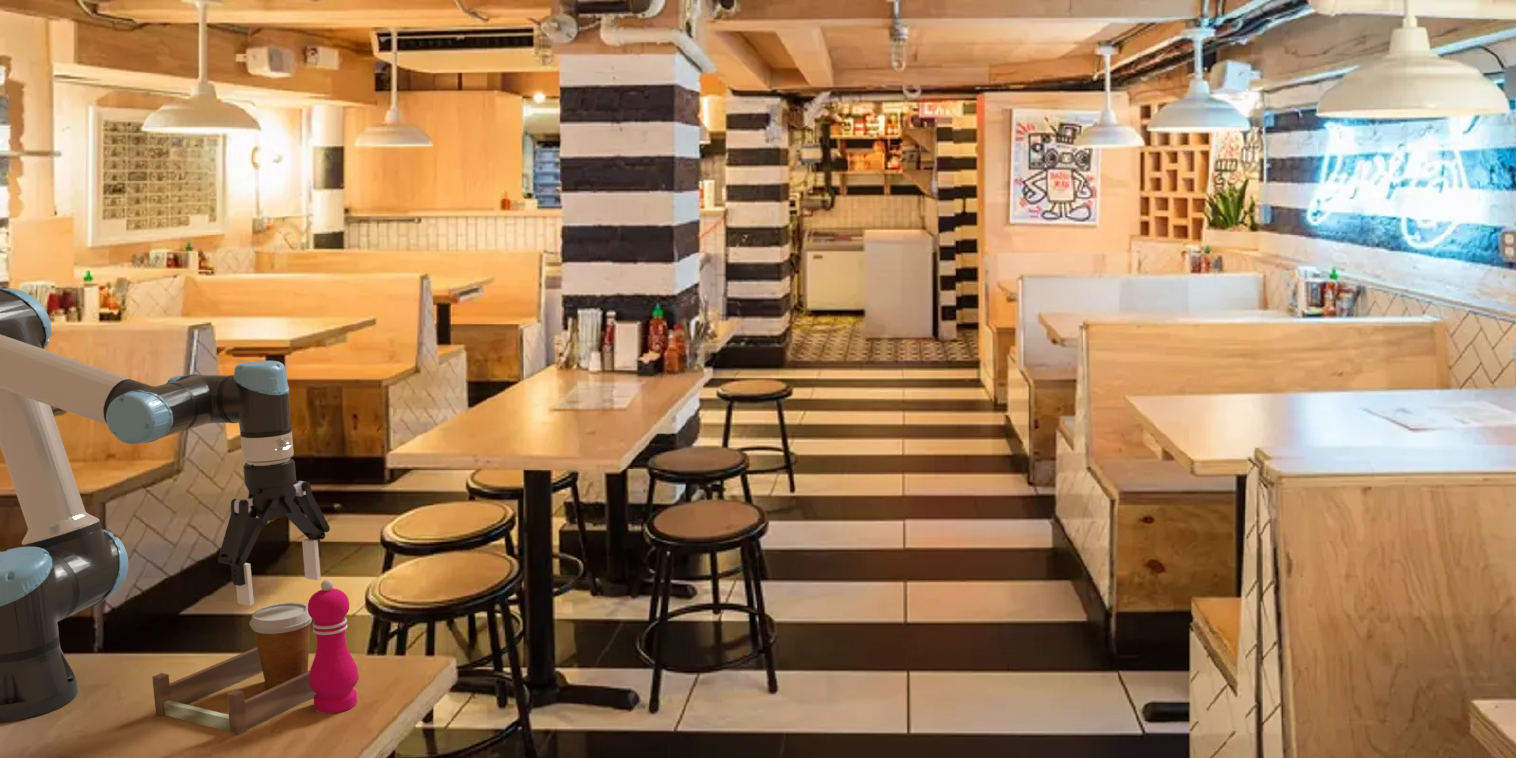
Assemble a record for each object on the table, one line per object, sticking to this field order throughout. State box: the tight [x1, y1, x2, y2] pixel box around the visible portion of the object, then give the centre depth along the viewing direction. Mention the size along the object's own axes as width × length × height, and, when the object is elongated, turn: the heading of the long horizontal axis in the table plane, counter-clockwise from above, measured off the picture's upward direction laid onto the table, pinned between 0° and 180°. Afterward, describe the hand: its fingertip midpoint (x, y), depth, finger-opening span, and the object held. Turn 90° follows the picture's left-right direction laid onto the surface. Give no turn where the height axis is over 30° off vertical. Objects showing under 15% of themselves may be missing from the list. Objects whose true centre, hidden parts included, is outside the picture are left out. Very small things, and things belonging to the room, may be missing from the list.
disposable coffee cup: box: [249, 602, 313, 690], centre depth 202 cm, size 10×10×12 cm
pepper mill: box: [307, 579, 360, 714], centre depth 192 cm, size 7×7×20 cm
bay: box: [151, 646, 317, 736], centre depth 196 cm, size 18×20×6 cm
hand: (280, 591), depth 200 cm, fingers open, 13 cm apart
